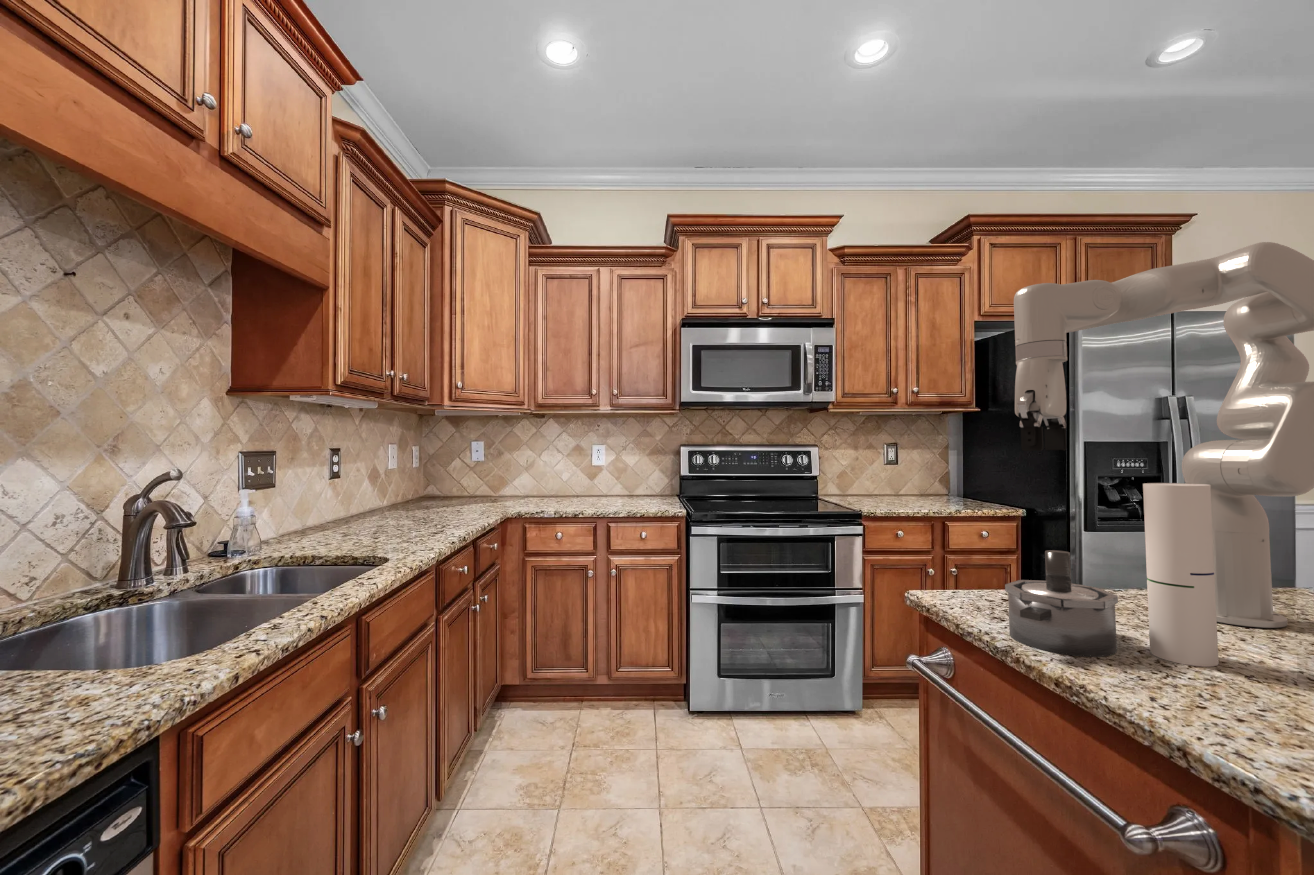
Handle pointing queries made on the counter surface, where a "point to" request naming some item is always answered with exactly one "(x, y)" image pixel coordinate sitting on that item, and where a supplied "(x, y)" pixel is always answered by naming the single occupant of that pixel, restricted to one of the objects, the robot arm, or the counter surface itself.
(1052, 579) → the lid
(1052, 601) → the pot
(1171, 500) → the cylindrical container
